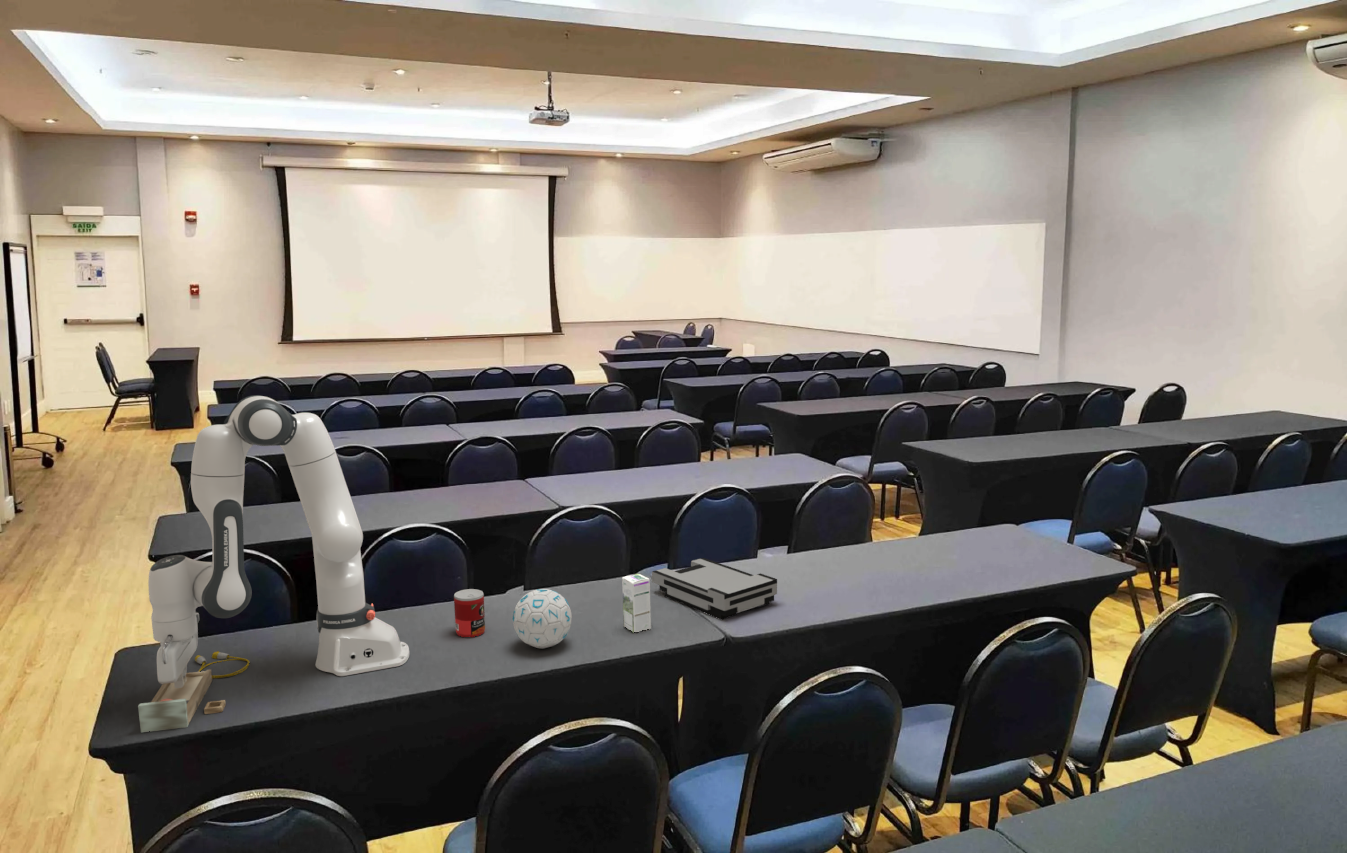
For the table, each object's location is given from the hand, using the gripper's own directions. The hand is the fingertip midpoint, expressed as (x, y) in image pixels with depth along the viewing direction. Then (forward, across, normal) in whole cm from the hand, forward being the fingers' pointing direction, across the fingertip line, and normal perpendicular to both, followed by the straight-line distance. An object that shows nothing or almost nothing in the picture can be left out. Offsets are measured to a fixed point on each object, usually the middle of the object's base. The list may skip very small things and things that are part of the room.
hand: (180, 685), depth 214 cm
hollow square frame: (+3, -8, -8) cm, 12 cm away
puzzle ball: (+4, +9, -84) cm, 84 cm away
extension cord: (+4, +18, -5) cm, 19 cm away
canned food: (+4, +23, -66) cm, 70 cm away
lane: (+3, -2, 0) cm, 4 cm away
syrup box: (+4, +14, -110) cm, 111 cm away
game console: (+4, +31, -136) cm, 140 cm away
